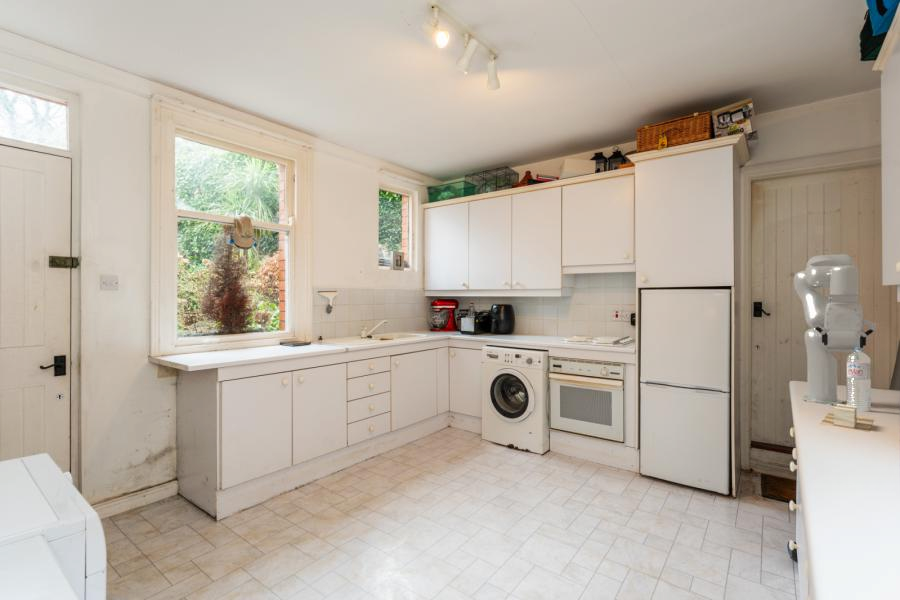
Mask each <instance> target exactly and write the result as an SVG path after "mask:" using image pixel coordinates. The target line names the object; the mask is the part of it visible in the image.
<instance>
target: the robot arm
mask: <svg viewBox="0 0 900 600" xmlns="http://www.w3.org/2000/svg"><path fill="white" fill-rule="evenodd" d="M793 286H794V289H795V292H796V294H797V296H798V297H799V299H800V300H801V302H802V306H803V313H804V318H805V322H806V324H807V326H809V329H807V330H806V331H805V333H804V343H805V349H806V358H807V359H806V360H807V362H806V363H807V364H806V365H807V366H806V367H807V369H806V371H807V372H806V373H807V380H806V381H807V384H806V385H807V387H806V388H807V391H806V392H807V393H806V394H807V395H804V396H802V400H803V399H804V400H803V401H805V400H806V401H805V402H808V401H809V402H808V403H812V402H814V403H813V404H819V403H820V404H821V405H826V404H835V405H834V406H836V404H843V401H842V400H841V399H838V362H837V359H836V358H835V357H834V356H833V355H832V354H831V353H830V352H833V351H835V352H855V347H858V348H862V349H863V348H864V347H865V346H867V337H868V336H869V335H871V334H872V333H874V331H875V330H876V329H877V328H878V324H876V323H873V322H871V321H869V320H867V319H864V315H863V314H864V313H863V307H862V304H861V303H860V302H859V268H858V266H856V265H854V260H853V258H852V257H851V256H850V255H849V254H844V253H842V254H841V253H840V254H839V253H838V254H821V255H820V254H819V255H815V256H812V257H810V258H809V260H808V261H807V263H806V268H805V270H801V271H798V272H796V273H795V275H794V276H793ZM816 289H829V295H827V296H826V295H824V294H822V293H821V292H820V291H818V290H816ZM864 325H867V326H868V327H870V328H868V330H867V331H864V329H863V328H864Z"/></svg>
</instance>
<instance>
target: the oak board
mask: <svg viewBox="0 0 900 600" xmlns="http://www.w3.org/2000/svg"><path fill="white" fill-rule="evenodd" d="M874 420H875V418H873V417H865V416H858V415H857V424H856V426H855V428H848V427H842V426H835V425H834V411H831V412H830V411H829V412H828V413H827V414H826V415H825V417H824V418H823V420H822V421H820V425H824V426H830V427H835V428H836V427H838V428H842V429H848V430H849V429H850V430H853V431H854V430H855V431H861V432H867V433H870V431H871V428H872V425H873V423H874Z"/></svg>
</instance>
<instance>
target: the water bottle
mask: <svg viewBox="0 0 900 600" xmlns="http://www.w3.org/2000/svg"><path fill="white" fill-rule="evenodd" d="M862 349H863V348H858V347H855V351H852V352H851V353H850V354H848V355H847V356H846V360H845V361H846V377H845V378H846V379H845V381H846V382H845V383H846V387H845V388H846V389H845V390H846V392H845V393H846V400H845V401H846V402H845V403H846V404H845V405H850V406H857V411H859V412H871V411H872V406H871V405H872V402H871V401H872V397H871V395H872V394H871V393H872V387H871V386H872V383H871V381H872V380H871V361H872V360H871V358H870V357H869V355H867V354H866V353H864V352H862Z"/></svg>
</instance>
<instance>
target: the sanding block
mask: <svg viewBox="0 0 900 600" xmlns="http://www.w3.org/2000/svg"><path fill="white" fill-rule="evenodd" d="M833 413H834V425H835V426H834V427H836V426H842V427H848V428H855V426H856V424H857V416H858V412H857V406H850V405H847V404H843V403H842V404H836V405H834V406H833ZM842 427H841V428H842ZM848 428H847V429H848Z"/></svg>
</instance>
